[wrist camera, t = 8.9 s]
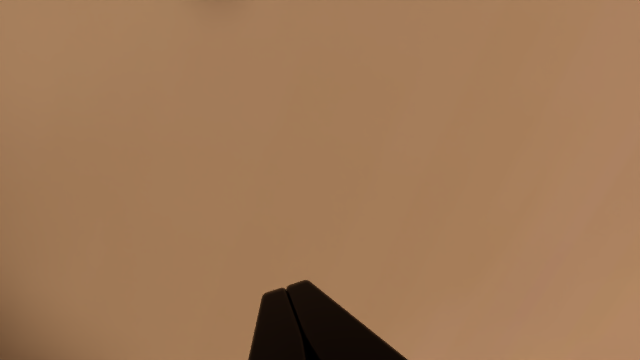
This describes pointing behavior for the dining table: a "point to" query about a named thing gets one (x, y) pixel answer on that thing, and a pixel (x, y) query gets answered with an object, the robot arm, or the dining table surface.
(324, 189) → the dining table surface
